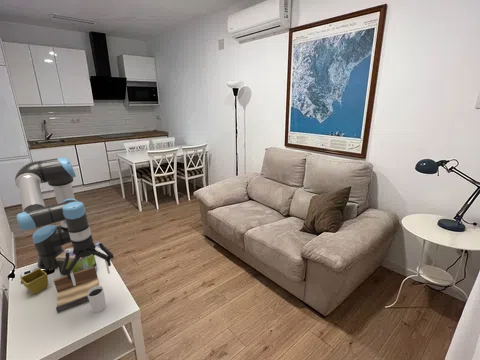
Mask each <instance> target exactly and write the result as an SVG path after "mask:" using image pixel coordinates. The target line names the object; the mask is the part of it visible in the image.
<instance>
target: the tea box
mask: <svg viewBox="0 0 480 360" xmlns="http://www.w3.org/2000/svg"><path fill="white" fill-rule="evenodd" d="M64 250H65V251H64V252H62V253H61V254H60V255H58V256H57V257H56V261H57V264H58V268H57V269H58V270H59V274H60V276H61V277H63V276H66V275H67V274H63V275H62V274H61V269H62V266H63V263H64V260H65V257H66V251H67V250H68V251H73V247H67V248H66V249H64ZM74 258H75V254H72V255H71V256H70V257H69V261H68V264H67V267H66V269H67V268H68V267H69V265H70V264H71V262H72V261H73V259H74ZM94 266H95V269H96V272H97V271H98V263H97V261H96V255H93V254H91V255H90V256H86V257H84V258H81V257H80V259H79V260H78V261H77V263H76V264H75V266H74V267H73V269H72V271H73V273H75V272H79V271H82V270H85V269H88V268H91V267H94Z"/></svg>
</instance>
